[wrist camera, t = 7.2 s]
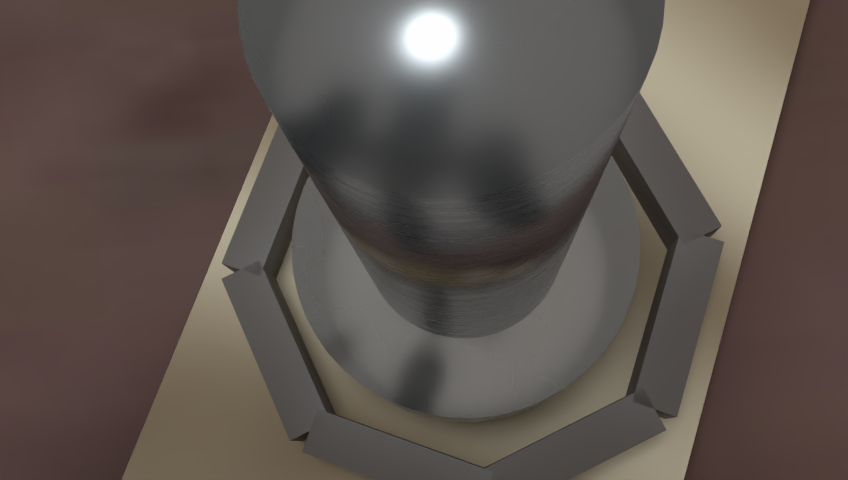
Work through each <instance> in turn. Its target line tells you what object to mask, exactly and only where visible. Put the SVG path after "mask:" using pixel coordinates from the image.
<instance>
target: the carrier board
mask: <svg viewBox="0 0 848 480" xmlns="http://www.w3.org/2000/svg"><path fill="white" fill-rule="evenodd" d="M809 2H810V0H665V8H664V20H663V28H662V32H661V36H660V40H659V45H658V49H657V52H656V54H655V57H654V60H653V62H652V65H651V67H650V70H649V72H648V75H647V77H646V79H645V81H644V84H643V86H642V88H641V90H640V92H639V95H638V97H637V99H636V101H635V104H634V106H633V108H632V110H631V112H630V115H629V117H628V119H627V121H626V124H625V126H624V128H623V130H622V132H621V135H620V137H619V139H618V141H617V144H616V146H615V148H614V150H613V152H612V155H611V156H612V158H613V159H614V161H615V162H616V164H617V165H618V167H619V169H620V171H621V173H622V175H623V177H624V179H625V181H626V183H627V185H628V188H629V191H630V194H631V196H632V199H633V202H634V205H635V210H636V215H637V220H638V225H639V235H640V261H639V273H638V278H637V282H636V287H635V291H634V295H633V298H632V301H631V303H630V306H629V309H628V311H627V314H626V317H625V319H624V320H623V322H622V324H621V326H620V328H619V330H618V332H617V333H616V335H615V337H614V338H613V340H612V341H611V343H610V344H609V345H608V347H607V348H606V349H605V351H604V352H603V353H602V355H601V356H600V357H599V358H598V359H597V360H596V361H595V362H594V363H593V364H592V365H591V366H590V367H589V368H588V369H587V370H586V371H585V373H583V374H582V375H581V376H579V377H578V378H577V379H576V380H574V381H573V382H572V383H570V384H569V385H568V386H567V387H565V388H564V389H563V390H561V391H560V392H559V393H557V394H556V395H555V396H553V397H552V398H550V399H548V400H546V401H545V402H543V403H541V404H540V405H538V406H536V407H534V408H532V409H529V410H527V411H524V412H522V413H520V414H517V415H514V416H510V417H506V418H502V419H499V420H493V421H485V422H477V423H462V422H448V421H442V420H435V419H431V418H428V417H424V416H421V415H417V414H414V413H412V412H409V411H407V410H405V409H402V408H400V407H398V406H396V405H394V404H392V403H391V402H389V401H387V400H386V399H384V398H382V397H381V396H379V395H377V394H376V393H374V392H372V391H371V390H369V389H367V388H366V387H364V386H363V385H361V384H360V383H359V382H358V381H356V380H355V379H354V378H353V377H351V376H350V375H349V374H348V373H347V372H345V371H344V370H343V369H342V368H341V367H340V365H339V364H338V363H337V362H336V361H335V360H334V359H333V358H332V357H331V356H330V355H329V354H328V352H327V351H326V349H325V348H324V347H323V345H322V344H321V342H320V341H319V340H318V338H317V337H316V335H315V333H314V331H313V330H312V328H311V326H310V324H309V322H308V320H307V318H306V316H305V314H304V311H303V308H302V305H301V303H300V300H299V297H298V294H297V289H296V285H295V280H294V275H293V266H292V253H291V249H292V231H293V225H294V220H295V214H296V209H297V206H298V203H299V200H300V197H301V194H302V191H303V188H304V186H305V184H306V181H307V179H308V177H309V174H308V173H307V171H306V169H305V168H304V166H303V164H302V163H301V161H300V159H299V158H298V156H297V154H296V153H295V151H294V149H293V148H292V146H291V144H290V143H289V141H288V139H287V138H286V136H285V134H284V133H283V131H282V129H281V128H280V126H279V124H278V123H277V121H276V119H275V118H274V116H273V115H272V117H271V119H270V122H269V124H268V127H267V129H266V132H265V134H264V136H263V139H262V141H261V144H260V146H259V148H258V151H257V153H256V156H255V158H254V161H253V163H252V165H251V168H250V170H249V173H248V175H247V177H246V180H245V182H244V185H243V187H242V190H241V192H240V194H239V197H238V199H237V202H236V204H235V206H234V209H233V211H232V214H231V216H230V219H229V221H228V223H227V226H226V228H225V231H224V233H223V236H222V238H221V240H220V243H219V245H218V248H217V250H216V252H215V255H214V257H213V260H212V262H211V265H210V267H209V269H208V272H207V274H206V277H205V279H204V281H203V284H202V286H201V289H200V291H199V294H198V296H197V298H196V301H195V303H194V306H193V308H192V310H191V313H190V315H189V318H188V320H187V323H186V325H185V327H184V330H183V332H182V335H181V337H180V339H179V342H178V344H177V347H176V349H175V352H174V354H173V356H172V359H171V361H170V364H169V366H168V368H167V371H166V373H165V376H164V378H163V381H162V383H161V385H160V388H159V390H158V393H157V395H156V397H155V400H154V402H153V405H152V407H151V410H150V412H149V414H148V417H147V419H146V422H145V424H144V426H143V429H142V431H141V434H140V436H139V439H138V441H137V443H136V446H135V448H134V451H133V453H132V455H131V458H130V460H129V463H128V465H127V468H126V470H125V472H124V475H123V477H122V480H684V477H685V473H686V469H687V466H688V462H689V458H690V454H691V450H692V447H693V443H694V439H695V435H696V431H697V428H698V424H699V420H700V416H701V412H702V409H703V405H704V401H705V397H706V393H707V390H708V386H709V382H710V378H711V374H712V371H713V367H714V363H715V359H716V355H717V352H718V348H719V344H720V340H721V336H722V333H723V329H724V325H725V321H726V317H727V314H728V310H729V306H730V302H731V298H732V295H733V291H734V287H735V283H736V280H737V276H738V272H739V268H740V264H741V261H742V257H743V253H744V249H745V245H746V242H747V238H748V234H749V230H750V226H751V223H752V219H753V215H754V211H755V207H756V204H757V200H758V196H759V192H760V188H761V185H762V181H763V177H764V173H765V169H766V166H767V162H768V158H769V154H770V150H771V147H772V143H773V139H774V135H775V131H776V128H777V124H778V120H779V116H780V113H781V109H782V105H783V101H784V97H785V94H786V90H787V86H788V82H789V78H790V75H791V71H792V67H793V63H794V59H795V56H796V52H797V48H798V44H799V40H800V37H801V33H802V29H803V25H804V21H805V18H806V14H807V10H808V6H809Z"/></svg>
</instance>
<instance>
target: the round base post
mask: <svg viewBox="0 0 848 480" xmlns="http://www.w3.org/2000/svg"><path fill="white" fill-rule="evenodd" d="M664 8H665V0H238V19H239V34H240V38H241V43H242V48H243V52H244V57H245V60H246V62H247V65H248V68H249V70H250V73H251V76H252V78H253V81H254V83H255V85H256V86H257V88H258V90H259V92H260V94H261V96H262V97H263V99H264V101H265V103H266V104H267V106H268V108H269V109H270V111H271V113H272V114H273V116H274V118H275V119H276V121H277V123H278V124H279V126H280V128H281V129H282V131H283V133H284V134H285V136H286V138H287V139H288V141H289V143H290V144H291V146H292V148H293V149H294V151H295V153H296V154H297V156H298V158H299V159H300V161H301V163H302V164H303V166H304V168H305V169H306V171H307V173H308V174H309V177H308V179H307V181H306V184H305V186H304V188H303V191H302V194H301V197H300V200H299V203H298V206H297V209H296V214H295V220H294V225H293V231H292V249H291V253H292V266H293V275H294V280H295V285H296V289H297V294H298V297H299V300H300V303H301V305H302V308H303V311H304V314H305V316H306V318H307V320H308V322H309V324H310V326H311V328H312V330H313V331H314V333H315V335H316V337H317V338H318V340H319V341H320V342H321V344H322V345H323V347H324V348H325V349H326V351H327V352H328V354H329V355H330V356H331V357H332V358H333V359H334V360H335V361H336V362H337V363H338V364H339V365H340V367H341V368H342V369H343V370H344V371H345V372H347V373H348V374H349V375H350V376H351V377H353V378H354V379H355V380H356V381H358V382H359V383H360V384H361V385H363V386H364V387H366V388H367V389H369V390H371V391H372V392H374V393H376V394H377V395H379V396H381V397H382V398H384V399H386V400H387V401H389V402H391V403H392V404H394V405H396V406H398V407H400V408H402V409H405V410H407V411H409V412H412V413H414V414H417V415H421V416H424V417H428V418H431V419H435V420H442V421H448V422H462V423H477V422H485V421H493V420H499V419H502V418H506V417H510V416H514V415H517V414H520V413H522V412H524V411H527V410H529V409H532V408H534V407H536V406H538V405H540V404H541V403H543V402H545V401H546V400H548V399H550V398H552V397H553V396H555V395H556V394H557V393H559V392H560V391H561V390H563V389H564V388H565V387H567V386H568V385H569V384H570V383H572V382H573V381H574V380H576V379H577V378H578V377H579V376H581V375H582V374H583V373H585V371H586V370H587V369H588V368H589V367H590V366H591V365H592V364H593V363H594V362H595V361H596V360H597V359H598V358H599V357H600V356H601V355H602V353H603V352H604V351H605V349H606V348H607V347H608V345H609V344H610V343H611V341H612V340H613V338H614V337H615V335H616V333H617V332H618V330H619V328H620V326H621V324H622V322H623V320H624V319H625V317H626V314H627V311H628V309H629V306H630V303H631V301H632V298H633V295H634V291H635V287H636V282H637V278H638V273H639V261H640V235H639V225H638V220H637V215H636V210H635V205H634V202H633V199H632V196H631V194H630V191H629V188H628V185H627V183H626V181H625V179H624V177H623V175H622V173H621V171H620V169H619V167H618V165H617V164H616V162H615V161H614V159H613V158H612V156H611V155H612V152H613V150H614V148H615V146H616V144H617V141H618V139H619V137H620V135H621V132H622V130H623V128H624V126H625V124H626V121H627V119H628V117H629V115H630V112H631V110H632V108H633V106H634V104H635V101H636V99H637V97H638V95H639V92H640V90H641V88H642V86H643V84H644V81H645V79H646V77H647V75H648V72H649V70H650V67H651V65H652V62H653V60H654V57H655V54H656V52H657V49H658V45H659V40H660V36H661V32H662V28H663V20H664Z"/></svg>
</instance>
